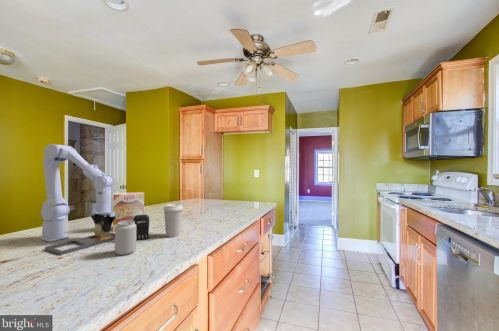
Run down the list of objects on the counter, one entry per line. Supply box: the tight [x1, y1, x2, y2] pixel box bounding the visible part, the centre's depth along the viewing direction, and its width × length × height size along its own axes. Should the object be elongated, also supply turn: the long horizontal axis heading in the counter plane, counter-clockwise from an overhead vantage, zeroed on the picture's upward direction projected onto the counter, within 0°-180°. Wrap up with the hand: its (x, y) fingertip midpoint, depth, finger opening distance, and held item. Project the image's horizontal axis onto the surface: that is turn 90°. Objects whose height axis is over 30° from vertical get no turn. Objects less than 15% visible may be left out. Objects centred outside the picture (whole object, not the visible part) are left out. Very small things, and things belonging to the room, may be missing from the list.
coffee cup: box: [162, 203, 184, 238], centre depth 115 cm, size 10×10×15 cm
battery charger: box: [133, 213, 150, 241], centre depth 108 cm, size 7×4×11 cm, turn 119°
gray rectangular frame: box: [44, 232, 115, 256], centre depth 102 cm, size 12×25×1 cm, turn 153°
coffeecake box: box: [112, 191, 145, 232], centre depth 127 cm, size 15×7×20 cm, turn 119°
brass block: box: [94, 222, 111, 240], centre depth 108 cm, size 4×4×7 cm
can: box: [114, 221, 137, 256], centre depth 91 cm, size 8×8×12 cm
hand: (103, 230), depth 108 cm, fingers open, 6 cm apart
